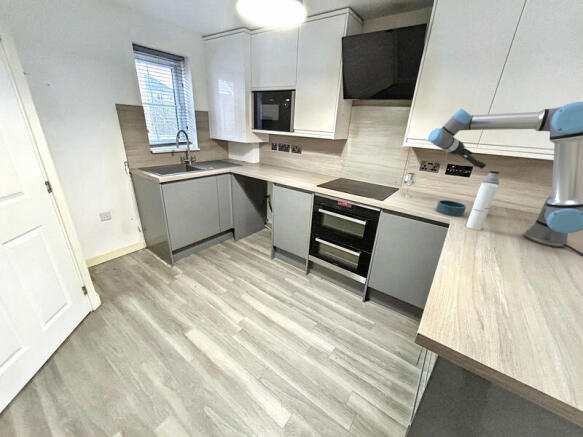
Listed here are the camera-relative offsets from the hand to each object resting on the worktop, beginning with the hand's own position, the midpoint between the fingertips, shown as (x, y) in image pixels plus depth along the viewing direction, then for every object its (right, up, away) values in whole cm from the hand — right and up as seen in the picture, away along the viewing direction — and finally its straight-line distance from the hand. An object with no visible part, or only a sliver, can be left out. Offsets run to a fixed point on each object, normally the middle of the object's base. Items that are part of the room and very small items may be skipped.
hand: (476, 160), depth 137 cm
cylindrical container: (-5, -39, -4) cm, 40 cm away
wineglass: (-16, -16, +51) cm, 56 cm away
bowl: (-4, -30, +19) cm, 36 cm away
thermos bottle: (+16, -31, +19) cm, 40 cm away
